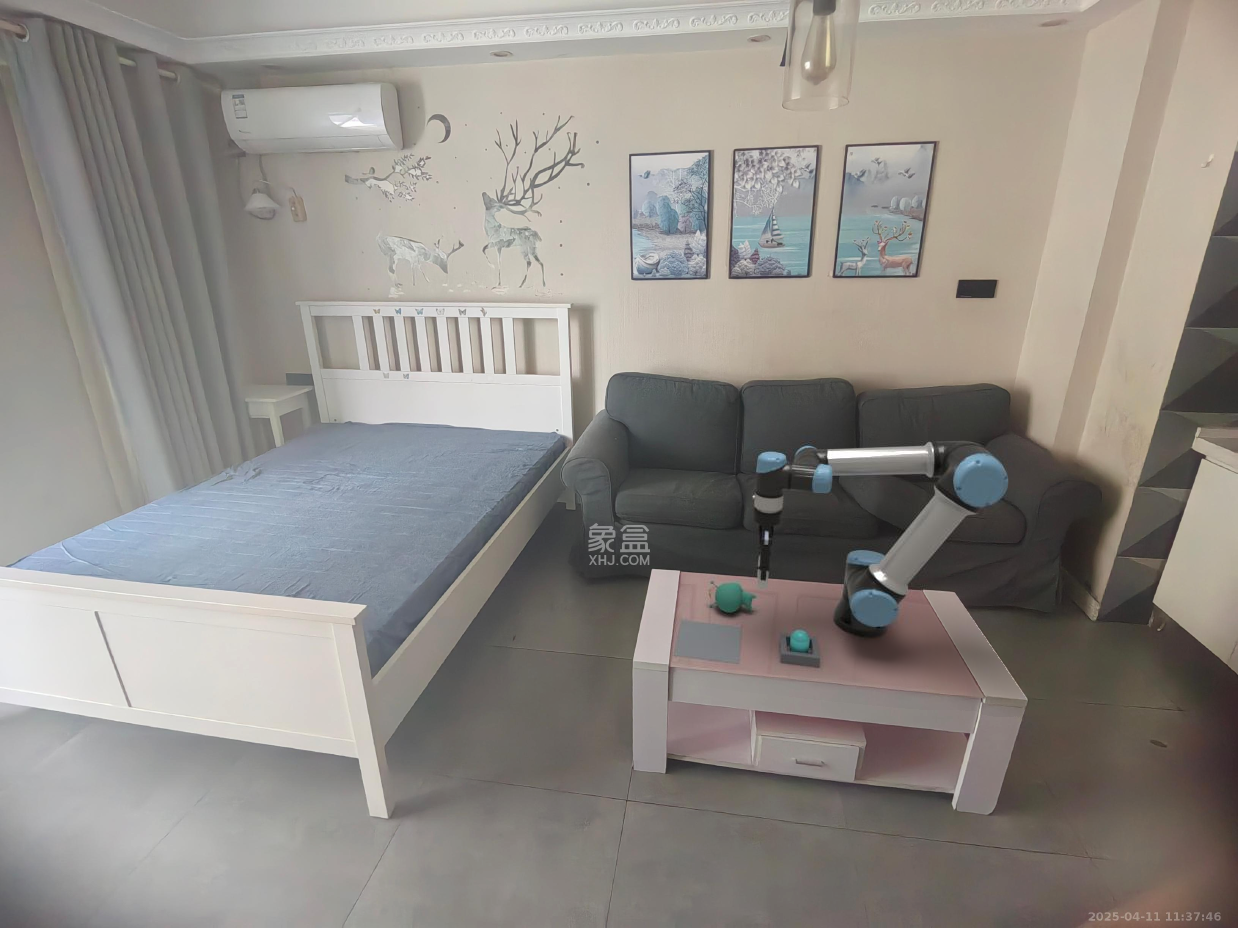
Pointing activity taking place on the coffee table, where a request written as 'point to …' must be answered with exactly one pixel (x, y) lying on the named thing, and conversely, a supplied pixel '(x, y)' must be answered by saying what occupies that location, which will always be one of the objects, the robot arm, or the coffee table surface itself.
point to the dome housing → (797, 657)
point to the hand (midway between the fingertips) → (762, 582)
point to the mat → (708, 641)
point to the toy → (731, 597)
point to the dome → (799, 642)
